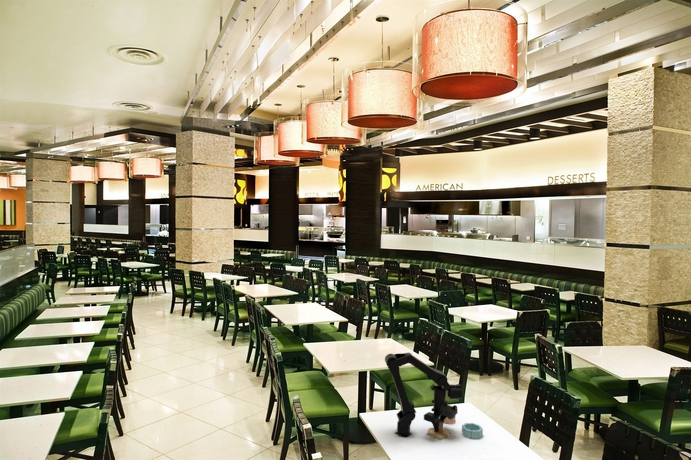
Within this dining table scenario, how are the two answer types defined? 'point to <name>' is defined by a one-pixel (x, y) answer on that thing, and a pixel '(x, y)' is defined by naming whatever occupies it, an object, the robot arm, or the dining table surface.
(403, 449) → the dining table surface
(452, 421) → the small bowl
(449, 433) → the mat
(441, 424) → the lid
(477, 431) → the bowl
